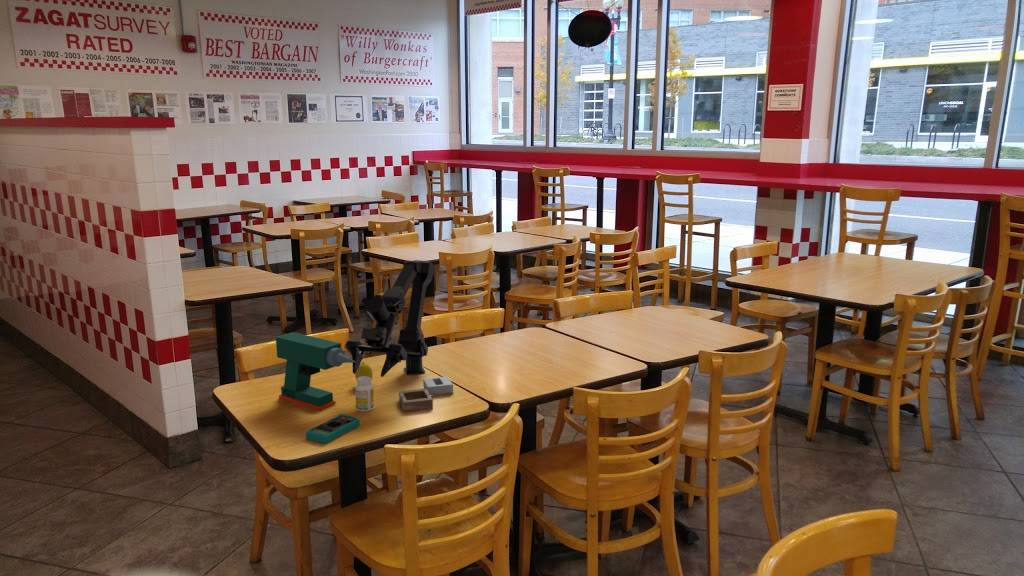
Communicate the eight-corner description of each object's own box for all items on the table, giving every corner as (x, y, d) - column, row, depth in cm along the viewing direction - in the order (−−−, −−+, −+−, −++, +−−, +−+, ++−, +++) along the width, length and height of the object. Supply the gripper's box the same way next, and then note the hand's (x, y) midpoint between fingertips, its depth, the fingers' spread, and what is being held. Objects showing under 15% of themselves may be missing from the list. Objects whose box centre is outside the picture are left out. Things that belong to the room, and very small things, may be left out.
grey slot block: (423, 387, 233) (423, 378, 232) (447, 385, 235) (447, 376, 235) (428, 396, 225) (428, 387, 225) (453, 393, 228) (453, 384, 227)
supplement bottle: (361, 413, 212) (359, 382, 210) (352, 408, 216) (351, 377, 214) (377, 409, 215) (376, 378, 213) (369, 404, 219) (367, 374, 217)
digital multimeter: (362, 426, 204) (361, 416, 203) (325, 445, 191) (324, 435, 190) (342, 421, 207) (341, 412, 206) (304, 440, 194) (304, 430, 194)
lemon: (365, 389, 231) (364, 365, 230) (352, 386, 234) (351, 363, 232) (376, 384, 236) (375, 361, 234) (363, 381, 239) (362, 358, 237)
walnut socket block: (399, 400, 222) (398, 391, 221) (426, 397, 224) (426, 388, 224) (404, 412, 212) (404, 402, 212) (432, 409, 215) (432, 399, 214)
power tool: (368, 413, 212) (365, 348, 208) (351, 421, 206) (347, 354, 202) (297, 391, 229) (293, 331, 225) (279, 398, 224) (274, 336, 220)
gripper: (346, 314, 220) (329, 359, 212) (402, 318, 215) (386, 365, 206) (359, 332, 229) (343, 376, 221) (413, 337, 224) (399, 382, 215)
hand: (367, 374), depth 216 cm, fingers open, 9 cm apart
